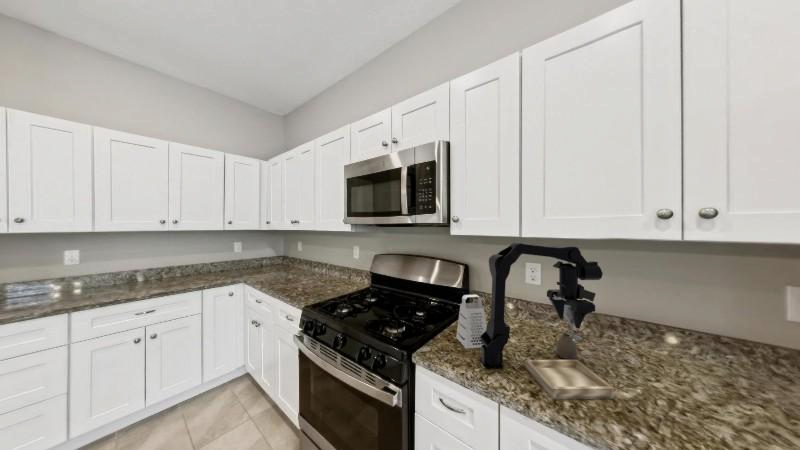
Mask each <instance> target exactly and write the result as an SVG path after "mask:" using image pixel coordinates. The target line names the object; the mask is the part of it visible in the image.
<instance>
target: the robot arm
mask: <svg viewBox="0 0 800 450" xmlns="http://www.w3.org/2000/svg"><path fill="white" fill-rule="evenodd" d="M521 255H529V256H531V255H532V256H538V257H539V256H540V257H545V258H546V257H547V258H548V257H549V258H553V259H556V260H558V261H557V262H556V263H554V264H553V265H552V267H553V268H555V269H558V274H559V275H558V278H559V279H558V281H556V285H557V286H559V287H558V289H547V291H546V297H547V298H548V300H549V301H550V303H551V305H552V306H553V308H554V310H555V312H556V314H557V315H558V316H557V317H559V319H561V320H563V318H564V305H565V303H566V302H569V303H570V307H571V309H570V311H571V315H572V318H573V321H574V327H575V329H580V328H581V326H582V324H583V321H584V320H585V319H584V318H585V317H586V316H587V315H588V314H591V313H595V312H596V305H595V303H593V302H594V300H595V297H596V294H597V293H595V292H593V291H589V290H587V289H585V286H583V285H582V284H581V283H579V280H580V281H599V280H600V281H601V279H602V278H603V274H604V273H603V271H602V268H601V267H600V266H599V262H598V261H593V260H590V261H587V260H586V259H585V257H584V256H583V255H582V252H581V250H580V249H579V248H578V247H576V246H573V245H562V244H561V245H554V246H553V245H552V246H545V245H537V244H536V245H535V244H528V243H522V242H513V243H511V244H510V245H509V246H507V247H505V248H504V249H502V250H499V252H498V253H494V254H492V255H491V256H490V257H489V258H488V267H489V272H490V276H491V279H492V281H491V299H490V300H491V304H490V305H491V306H490V317H489V319H488V322H486V326H487V328H486V331H485V332H484V333H483V334H482V335H481V336H480V337H479V339H481V340H480V342H481V345H482V344H484V345H482V347H481V357H480V358H479V359H480V360H479V361H480V362H481V363H482V365H483V367H484V368H485V370H486V369H487V370H488V369H491V370H492V369H494V370H495V369H497V370H498V369H500V370H501V369H504V368H505V367H504V365H503V364H504V353H503V351H504V348H505V345H507V344H508V342H509V340H510V339H511V337H510V333H511V326H509V324H507V322H505V308H506V307H505V305H506V282H507V279H508V277H509V275H510V271H511V268H512V265H513V264H514V263H516V262H517V260H518V259H519V258H520V256H521ZM559 260H560V261H559ZM564 262H565V263H564ZM566 262H567V263H566ZM573 264H574V265H573Z"/></svg>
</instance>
